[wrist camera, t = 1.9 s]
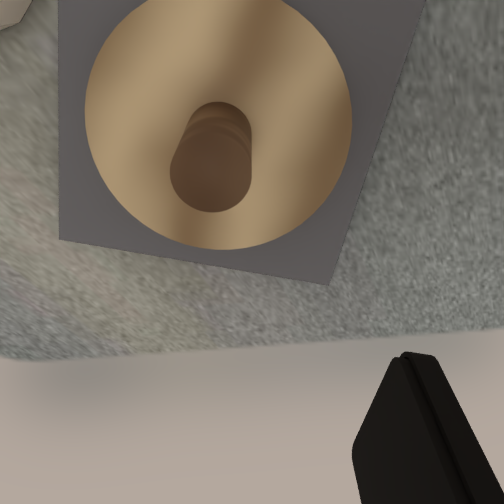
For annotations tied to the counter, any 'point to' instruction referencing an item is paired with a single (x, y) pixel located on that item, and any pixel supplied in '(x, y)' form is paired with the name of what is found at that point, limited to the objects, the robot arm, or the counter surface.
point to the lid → (218, 119)
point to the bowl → (12, 12)
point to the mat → (303, 236)
